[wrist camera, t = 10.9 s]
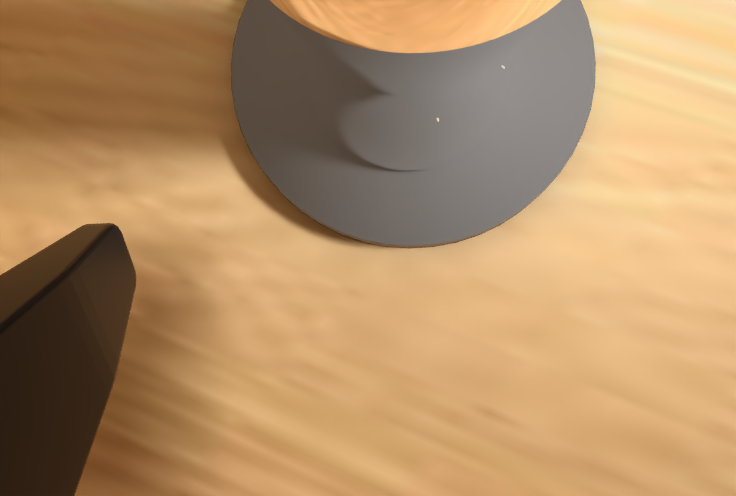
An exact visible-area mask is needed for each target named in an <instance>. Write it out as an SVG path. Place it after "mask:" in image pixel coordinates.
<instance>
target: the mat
mask: <svg viewBox="0 0 736 496" xmlns="http://www.w3.org/2000/svg"><path fill="white" fill-rule="evenodd" d="M306 57H307V48H306V47H305V45H304V44H303V43H302V42H301V41H300V39H299V38H298V37H297V36H296V35H295V33H294V32H293V31H292V30H291V29H290V27H289V26H288V25H287V24H286V23H285V21H284V20H283V19H282V18H281V16H280V15H279V14H278V13H277V11H276V10H275V9H274V8H273V6H272V5H271V4H270V3H269V1H268V0H247V2H246V5H245V8H244V10H243V13H242V15H241V18H240V20H239V23H238V27H237V31H236V35H235V39H234V44H233V53H232V62H231V83H232V94H233V100H234V106H235V111H236V115H237V118H238V121H239V124H240V128H241V131H242V133H243V136H244V138H245V140H246V142H247V144H248V146H249V149H250V151H251V153H252V154H253V156H254V158H255V159H256V161H257V162H258V164H259V165H260V167H261V168H262V170H263V172H264V173H265V174H266V175H267V176H268V178H269V179H270V180H271V181H272V182H273V183H274V185H275V186H276V187H277V188H278V189H279V190H280V192H281V193H282V194H283V195H284V196H285V197H286V198H287V199H288V200H289V201H290V202H292V203H293V204H294V205H295V206H296V207H297V208H298V209H299V210H300V211H302V212H303V213H305V214H306V215H308V216H309V217H311V218H312V219H314V220H315V221H317V222H318V223H319V224H321V225H323V226H325V227H327V228H329V229H331V230H333V231H335V232H337V233H339V234H342V235H345V236H347V237H350V238H353V239H356V240H359V241H362V242H366V243H371V244H376V245H381V246H386V247H399V248H422V247H435V246H440V245H445V244H451V243H456V242H459V241H462V240H465V239H468V238H471V237H475V236H478V235H480V234H482V233H484V232H486V231H488V230H491V229H493V228H495V227H497V226H499V225H501V224H502V223H504V222H505V221H507V220H508V219H510V218H511V217H513V216H515V215H516V214H518V213H519V212H520V211H522V210H523V209H524V208H525V207H526V206H527V205H529V204H530V203H531V202H532V201H533V200H534V199H536V198H537V197H538V196H539V195H540V194H541V193H542V192H543V191H544V190H545V189H546V188H547V187H548V186H549V184H550V183H551V182H552V181H553V180H554V179H555V178H556V177H557V175H558V174H559V173H560V172H561V170H562V169H563V167H564V166H565V164H566V163H567V161H568V160H569V158H570V157H571V155H572V154H573V152H574V150H575V148H576V146H577V144H578V142H579V140H580V138H581V136H582V134H583V131H584V128H585V125H586V122H587V119H588V116H589V113H590V110H591V105H592V99H593V93H594V88H595V65H596V63H595V53H594V43H593V38H592V33H591V29H590V25H589V21H588V18H587V15H586V13H585V10H584V8H583V5H582V3H581V0H563V1H562V2H561V3H560V4H559V6H558V7H557V8H556V9H555V10H554V11H553V12H552V13H551V14H550V15H549V16H548V17H547V18H546V19H545V21H544V22H543V23H542V24H541V25H540V26H539V27H538V28H537V29H536V30H535V31H534V32H533V33H532V34H531V35H530V36H529V37H528V38H527V39H526V40H525V42H524V43H523V44H522V45H521V46H520V47H519V48H518V49H517V50H516V51H515V52H514V53H513V54H512V69H511V80H510V86H509V91H508V96H507V99H506V102H505V105H504V108H503V110H502V113H501V115H500V117H499V119H498V120H497V122H496V124H495V125H494V127H493V128H492V129H491V131H490V132H489V133H488V134H487V135H486V136H485V137H484V139H483V140H481V141H480V142H479V143H478V144H477V145H476V146H475V147H474V148H472V149H471V150H470V151H468V152H467V153H465V154H464V155H462V156H460V157H458V158H457V159H455V160H453V161H451V162H448V163H446V164H443V165H440V166H437V167H433V168H429V169H423V170H413V171H403V170H392V169H387V168H382V167H379V166H375V165H372V164H370V163H367V162H365V161H363V160H361V159H359V158H357V157H355V156H354V155H352V154H350V153H349V152H348V151H346V150H345V149H343V148H342V147H341V146H340V145H339V144H338V143H337V142H336V141H334V140H333V138H332V137H331V136H330V135H329V134H328V133H327V131H326V130H325V129H324V127H323V126H322V124H321V123H320V121H319V119H318V117H317V115H316V113H315V111H314V109H313V106H312V103H311V100H310V96H309V92H308V87H307V80H306Z"/></svg>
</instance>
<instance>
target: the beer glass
mask: <svg viewBox="0 0 736 496" xmlns="http://www.w3.org/2000/svg"><path fill="white" fill-rule="evenodd" d="M268 1H269V3H270V4H271V5H272V6H273V8H274V9H275V10H276V11H277V13H278V14H279V15H280V16H281V18H282V19H283V20H284V21H285V23H286V24H287V25H288V26H289V27H290V29H291V30H292V31H293V32H294V33H295V35H296V36H297V37H298V38H299V39H300V41H301V42H302V43H303V44H304V45H305V47H306V48H307V57H306V80H307V87H308V92H309V96H310V100H311V103H312V106H313V109H314V111H315V113H316V115H317V117H318V119H319V121H320V123H321V124H322V126H323V127H324V129H325V130H326V131H327V133H328V134H329V135H330V136H331V137H332V138H333V140H334V141H336V142H337V143H338V144H339V145H340V146H341V147H342V148H343V149H345V150H346V151H348V152H349V153H350V154H352V155H354V156H355V157H357V158H359V159H361V160H363V161H365V162H367V163H370V164H372V165H375V166H379V167H382V168H387V169H392V170H403V171H413V170H423V169H429V168H433V167H437V166H440V165H443V164H446V163H448V162H451V161H453V160H455V159H457V158H458V157H460V156H462V155H464V154H465V153H467V152H468V151H470V150H471V149H472V148H474V147H475V146H476V145H477V144H478V143H479V142H480V141H481V140H483V139H484V137H485V136H486V135H487V134H488V133H489V132H490V131H491V129H492V128H493V127H494V125H495V124H496V122H497V120H498V119H499V117H500V115H501V113H502V110H503V108H504V105H505V102H506V99H507V96H508V91H509V86H510V80H511V69H512V54H513V53H514V52H515V51H516V50H517V49H518V48H519V47H520V46H521V45H522V44H523V43H524V42H525V40H526V39H527V38H528V37H529V36H530V35H531V34H532V33H533V32H534V31H535V30H536V29H537V28H538V27H539V26H540V25H541V24H542V23H543V22H544V21H545V19H546V18H547V17H548V16H549V15H550V14H551V13H552V12H553V11H554V10H555V9H556V8H557V7H558V6H559V4H560V3H561V2H562V1H563V0H268Z"/></svg>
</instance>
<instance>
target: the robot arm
mask: <svg viewBox="0 0 736 496" xmlns="http://www.w3.org/2000/svg"><path fill="white" fill-rule="evenodd" d="M135 287H136V273H135V269H134V266H133V263H132V260H131V257H130V254H129V252H128V249H127V246H126V243H125V241H124V238H123V235H122V233H121V231H120V229H119V228H118V226H116V225H114V224H112V223H103V224H86V225H83V226H81V227H80V228H78V229H76V230H75V231H73V232H71V233H70V234H68V235H66V236H65V237H63V238H61V239H60V240H58V241H56V242H55V243H53V244H51V245H50V246H48V247H46V248H45V249H43V250H42V251H40V252H38V253H37V254H35V255H33V256H32V257H30V258H28V259H27V260H25V261H23V262H22V263H20V264H18V265H17V266H15V267H13V268H12V269H10V270H8V271H7V272H5V273H3V274H2V275H0V496H74V495H75V492H76V489H77V486H78V484H79V481H80V478H81V475H82V472H83V469H84V467H85V464H86V461H87V458H88V455H89V452H90V449H91V447H92V444H93V441H94V438H95V435H96V432H97V430H98V427H99V424H100V421H101V418H102V415H103V413H104V410H105V407H106V404H107V401H108V398H109V395H110V392H111V389H112V386H113V383H114V380H115V376H116V372H117V368H118V365H119V360H120V356H121V351H122V347H123V342H124V337H125V333H126V328H127V324H128V319H129V315H130V310H131V306H132V301H133V297H134V292H135Z"/></svg>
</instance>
